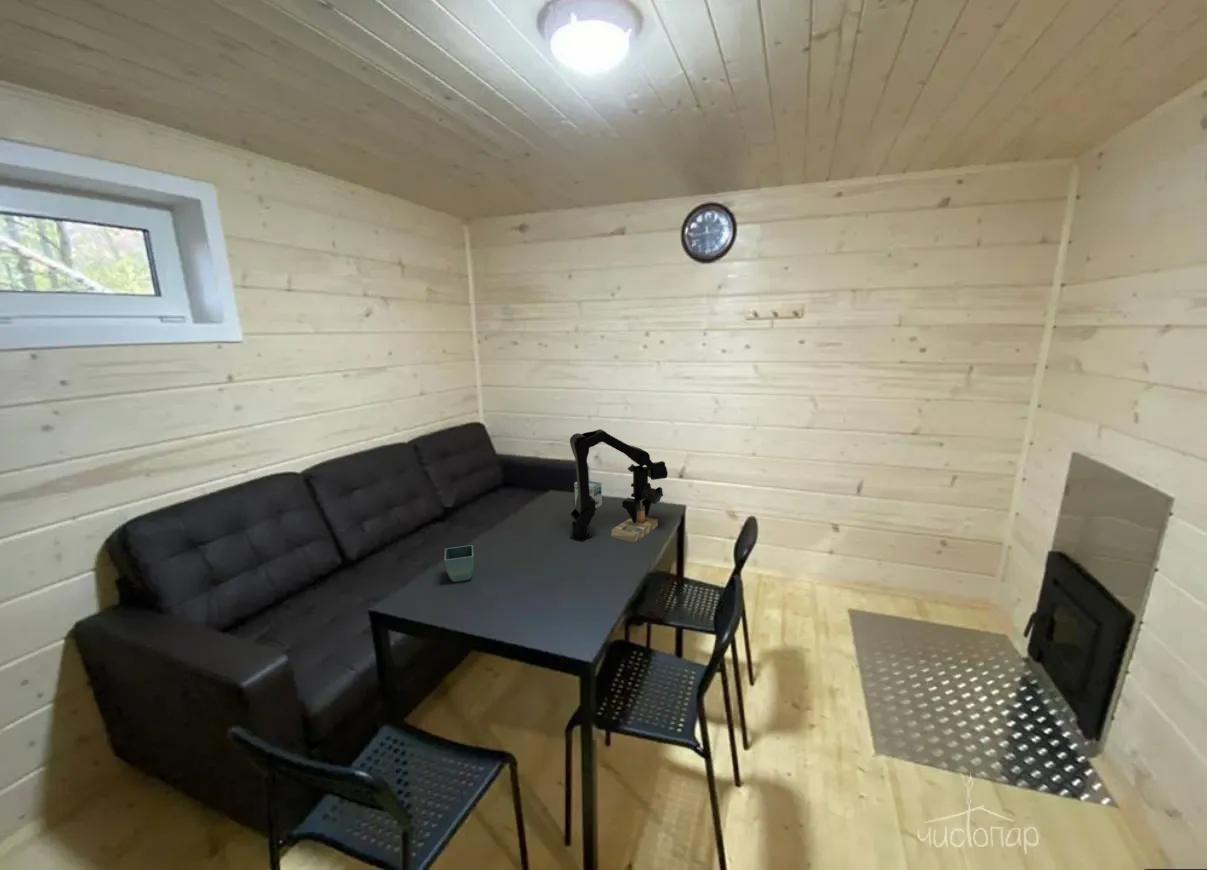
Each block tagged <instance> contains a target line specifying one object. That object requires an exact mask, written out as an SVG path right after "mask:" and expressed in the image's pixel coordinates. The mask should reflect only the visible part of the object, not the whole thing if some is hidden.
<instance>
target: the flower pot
mask: <svg viewBox="0 0 1207 870" xmlns="http://www.w3.org/2000/svg"><path fill="white" fill-rule="evenodd" d="M443 558H444V565H445V568H446V573H447V575H448V577H449V579H450V580H451V581H452V582H453V583H457V582H463V581H464V582H465V581H468V580H471V577H472V575H473V572H474V545H473V544H471V545H469V544H468V545H463V546H456V547H447V548H445V549H444V557H443Z"/></svg>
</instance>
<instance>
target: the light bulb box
mask: <svg viewBox="0 0 1207 870" xmlns="http://www.w3.org/2000/svg"><path fill="white" fill-rule="evenodd" d="M573 486H574V506H576V500H577V497H578V486H577V481H575V482H574V484H573ZM602 487H603V486H602V482H601V481H595V480H589V492H590V496H592V497H593V498H594V499H595V501H596V504H595V508H596V509H597V508H599V507H601V506H602V505H603V494H602V493H603V491H602V490H603V489H602Z"/></svg>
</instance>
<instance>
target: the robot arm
mask: <svg viewBox="0 0 1207 870" xmlns="http://www.w3.org/2000/svg"><path fill="white" fill-rule="evenodd" d="M600 443H603V444H606V445H608V446H609V447H611V448H613V449H615V450H616V451H619V452H621V453H623V454H624V455H625V456H627V458H628V459H630V460H631V461H632V462H634V463H635V464H637V465H635V464H632V463H631V465H629V466H628V467H627V470H628V471H629V472H630V473H632V483H631V484H630V485H631V486H630V487H632V489H633V491H632V493H631V494H630V496H631V497H632V498H631V497H628V498H626V499H624V500H622V502H621V507H622V508H623V509H625V510H626V511H627V513H628V515H629V518H631V519H632V521H633V523H636V521H637V512H638V510H639V509H640V505H644V506H645V517H647V516H649V513H650V510H651V507H652V505H653V504H657V503H659V502H660V501H661V499H662V497H663V496H664V494H663V493H664V491H663V488H662V487H661V486H659V487H657V488H655V487H654V488H652V484H651V483H650V482H649V479H650V480H652V481H655V480H664V479H667V477H668V474H669V473H668V468H667V466H666V462H665V461H663V460H661V461H655V462H653V461H652V460H651V457H650V456H651V454H649V453H648V452H647V451H646V450H644V449H642V448H641V447H636V446H633V445H630V444H628V443H625V442H623V441H622V440H620V439H618V438H616V437H615V436H613V435H610V434H609V433H608V432H606V431H605V430H603V429H601V428H599V429H597V430H592V431H587V432H583V433H574V434H573V435H571V437H570V438H569V444H570V447H571V451H572V454H573V456H574V460H575V471H576V472H575V475H576V482H577V486H578V497H577V500H576V505H575V508H574V509H573V510H572V511H571V512H570V514H569V515H570V518H571V519H572V523H571V527H572V528H571V529H572V535H570V536H569V539H572V540H575V541H580V542H584V541H587V539H589V538H591V537H592V536H593V533H590V525H591V520H592V519H593V518H594V516H595V515H596V511H598V510H597V508H595V504H596V501H595V499H594V498H593V497H592V496H590V492H589V481H590V480H589V470H588V456H589V453H590V448H592V447H595V446H597V445H598V444H600Z"/></svg>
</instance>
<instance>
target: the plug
mask: <svg viewBox="0 0 1207 870" xmlns="http://www.w3.org/2000/svg"><path fill="white" fill-rule="evenodd" d="M645 517H646V515H645V506H644V505H642V504H640V509H639V510H638V512H637V523H642V524H644V523H645Z"/></svg>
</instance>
